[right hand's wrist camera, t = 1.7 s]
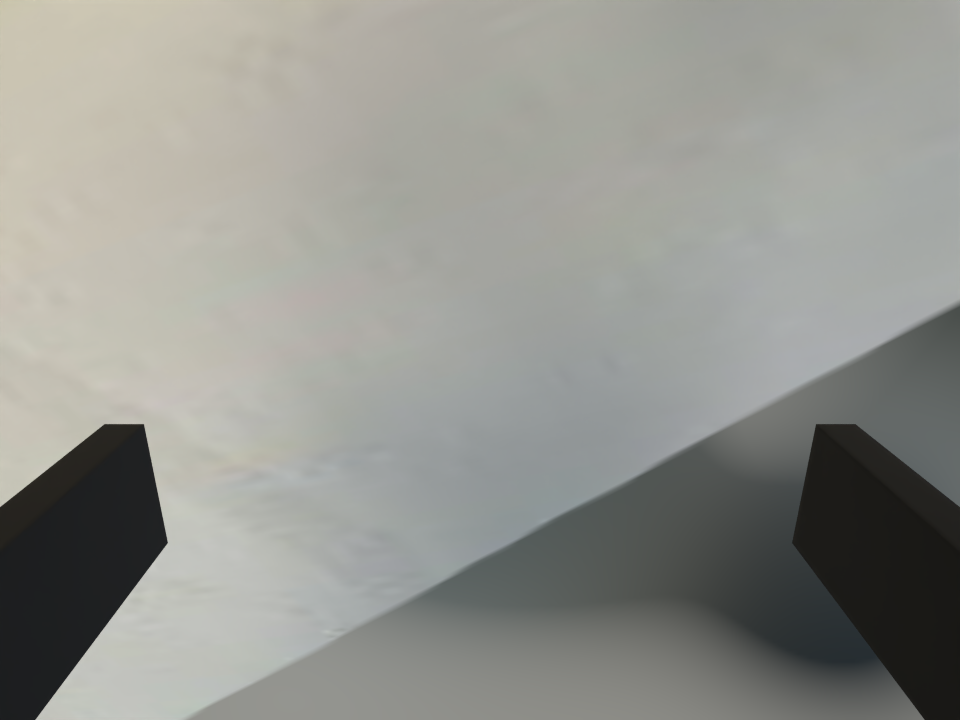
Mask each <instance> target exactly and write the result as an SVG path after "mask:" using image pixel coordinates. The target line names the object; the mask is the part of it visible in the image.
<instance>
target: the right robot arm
mask: <svg viewBox="0 0 960 720" xmlns="http://www.w3.org/2000/svg"><path fill="white" fill-rule="evenodd" d="M167 543H168V542H167V537H166V532H165V527H164V522H163V517H162V512H161V507H160V502H159V497H158V492H157V487H156V482H155V477H154V472H153V467H152V462H151V457H150V452H149V447H148V442H147V438H146V433H145V428H144V424H104V425H103V426H102V427H101V428H99V429H98V430H97V431H96V432H94V433H93V434H92V435H91V436H89V437H88V438H87V439H85V440H84V441H83V442H82V443H80V444H79V445H78V446H77V447H75V448H74V449H73V450H72V451H70V452H69V453H68V454H67V455H65V456H64V457H63V458H62V459H60V460H59V461H58V462H57V463H55V464H54V465H53V466H51V467H50V468H49V469H48V470H46V471H45V472H44V473H43V474H41V475H40V476H39V477H38V478H36V479H35V480H34V481H33V482H31V483H30V484H29V485H28V486H26V487H25V488H24V489H23V490H21V491H20V492H19V493H17V494H16V495H15V496H14V497H12V498H11V499H10V500H9V501H7V502H6V503H5V504H4V505H2V506H1V507H0V720H35V719H36V718H37V717H38V715H39V714H40V713H41V711H42V710H43V709H44V707H45V706H46V705H47V703H48V702H49V701H50V699H51V698H52V697H53V695H54V694H55V693H56V691H57V690H58V689H59V687H60V686H61V685H62V683H63V682H64V681H65V679H66V678H67V677H68V675H69V674H70V673H71V671H72V670H73V669H74V667H75V666H76V665H77V663H78V662H79V661H80V659H81V658H82V657H83V655H84V654H85V653H86V651H87V650H88V649H89V647H90V646H91V645H92V643H93V642H94V641H95V639H96V638H97V637H98V635H99V634H100V633H101V631H102V630H103V629H104V627H105V626H106V625H107V623H108V622H109V621H110V619H111V618H112V617H113V615H114V614H115V613H116V611H117V610H118V609H119V607H120V606H121V605H122V603H123V602H124V601H125V599H126V598H127V597H128V595H129V594H130V593H131V591H132V590H133V589H134V587H135V586H136V585H137V583H138V582H139V581H140V579H141V578H142V577H143V575H144V574H145V573H146V571H147V570H148V569H149V567H150V566H151V565H152V563H153V562H154V561H155V559H156V558H157V557H158V555H159V554H160V553H161V551H162V550H163V549H164V547H165V546H166V545H167ZM792 543H793V545H794V546H795V547H796V549H797V550H798V551H799V553H800V554H801V555H802V557H803V558H804V559H805V561H806V562H807V563H808V565H809V566H810V567H811V569H812V570H813V571H814V573H815V574H816V575H817V577H818V578H819V579H820V581H821V582H822V583H823V585H824V586H825V587H826V589H827V590H828V591H829V593H830V594H831V595H832V597H833V598H834V599H835V601H836V602H837V603H838V604H839V606H840V607H841V609H842V610H843V611H844V613H845V614H846V615H847V617H848V618H849V619H850V621H851V622H852V623H853V625H854V626H855V627H856V629H857V630H858V631H859V633H860V634H861V635H862V637H863V638H864V639H865V641H866V642H867V643H868V645H869V646H870V647H871V649H872V650H873V651H874V653H875V654H876V655H877V657H878V658H879V659H880V661H881V662H882V663H883V665H884V666H885V667H886V669H887V670H888V671H889V673H890V674H891V675H892V677H893V678H894V679H895V681H896V682H897V683H898V685H899V686H900V687H901V689H902V690H903V691H904V693H905V694H906V695H907V697H908V698H909V699H910V701H911V702H912V703H913V705H914V706H915V707H916V709H917V710H918V711H919V713H920V714H921V715H922V717H923V718H924V719H925V720H960V507H959V506H958V505H956V504H955V503H954V502H953V501H951V500H950V499H949V498H948V497H946V496H945V495H944V494H942V493H941V492H940V491H939V490H937V489H936V488H935V487H934V486H932V485H931V484H930V483H929V482H927V481H926V480H925V479H924V478H922V477H921V476H920V475H919V474H917V473H916V472H915V471H914V470H912V469H911V468H910V467H909V466H907V465H906V464H905V463H903V462H902V461H901V460H900V459H898V458H897V457H896V456H895V455H893V454H892V453H891V452H890V451H888V450H887V449H886V448H884V447H883V446H882V445H881V444H880V443H878V442H877V441H876V440H875V439H873V438H872V437H871V436H869V435H868V434H867V433H866V432H864V431H863V430H862V429H861V428H859V427H858V426H857V425H856V424H816V428H815V433H814V438H813V442H812V447H811V452H810V457H809V462H808V467H807V472H806V477H805V482H804V487H803V492H802V497H801V502H800V507H799V512H798V517H797V522H796V527H795V532H794V537H793V542H792Z"/></svg>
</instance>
